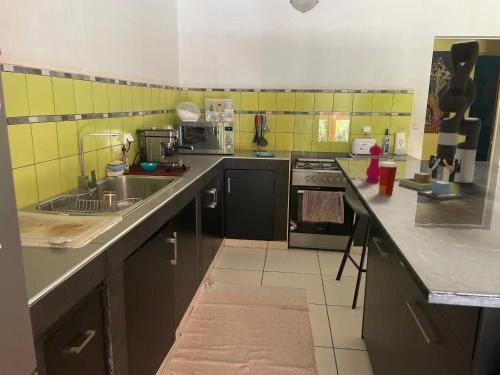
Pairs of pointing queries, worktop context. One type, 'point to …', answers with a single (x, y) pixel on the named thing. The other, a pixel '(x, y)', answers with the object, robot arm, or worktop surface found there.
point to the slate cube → (440, 188)
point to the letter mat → (440, 197)
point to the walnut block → (422, 178)
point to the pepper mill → (374, 164)
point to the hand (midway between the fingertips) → (442, 180)
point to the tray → (416, 184)
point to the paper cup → (387, 177)
